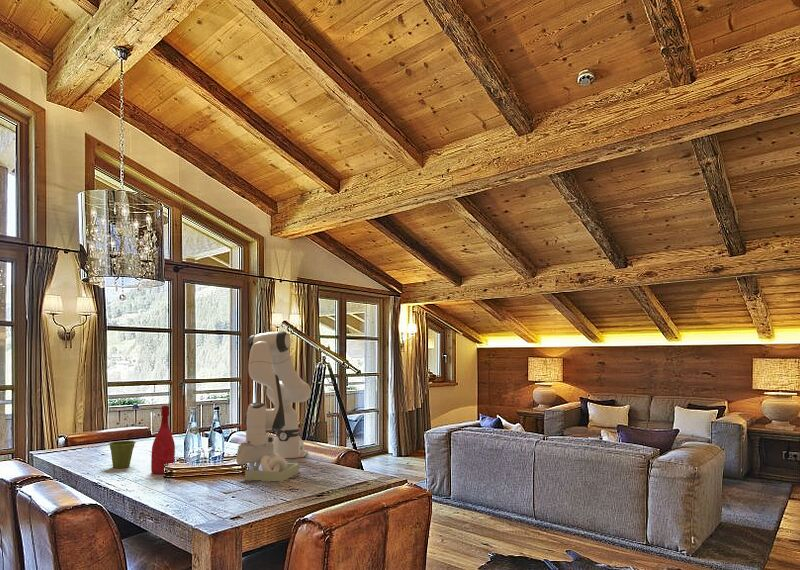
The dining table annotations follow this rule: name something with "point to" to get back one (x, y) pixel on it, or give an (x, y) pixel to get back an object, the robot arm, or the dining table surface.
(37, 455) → the dining table surface
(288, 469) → the frame
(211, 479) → the dining table surface
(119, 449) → the plant pot
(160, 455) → the wine bottle
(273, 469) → the cream lumpy rounded piece
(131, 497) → the dining table surface
